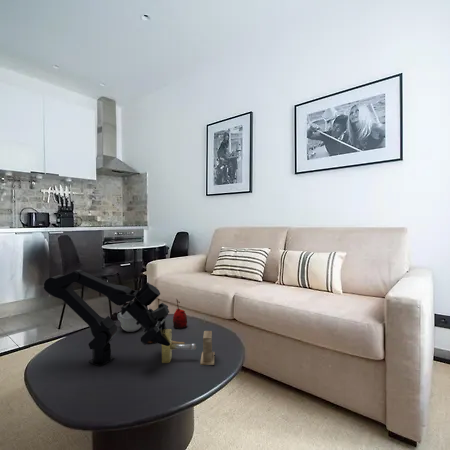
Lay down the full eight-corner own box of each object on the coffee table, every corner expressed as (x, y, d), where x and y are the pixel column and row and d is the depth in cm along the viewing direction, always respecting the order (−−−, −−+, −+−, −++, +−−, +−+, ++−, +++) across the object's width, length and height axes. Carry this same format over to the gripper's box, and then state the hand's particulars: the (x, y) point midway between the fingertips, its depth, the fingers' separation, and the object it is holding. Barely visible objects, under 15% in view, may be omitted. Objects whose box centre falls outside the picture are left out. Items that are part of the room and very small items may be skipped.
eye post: (200, 365, 100) (200, 339, 101) (201, 354, 109) (201, 329, 110) (214, 365, 101) (213, 339, 101) (214, 354, 110) (214, 329, 110)
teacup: (148, 328, 137) (148, 312, 138) (130, 335, 128) (130, 318, 128) (129, 323, 145) (129, 307, 145) (111, 329, 136) (111, 313, 136)
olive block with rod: (161, 362, 103) (161, 333, 103) (163, 357, 107) (163, 329, 107) (196, 362, 103) (195, 332, 103) (196, 357, 107) (196, 328, 107)
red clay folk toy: (190, 326, 139) (190, 296, 139) (179, 330, 134) (179, 299, 134) (180, 323, 144) (180, 294, 144) (169, 327, 139) (169, 297, 139)
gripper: (149, 305, 95) (182, 337, 96) (161, 292, 114) (188, 319, 114) (126, 328, 95) (159, 360, 95) (142, 311, 114) (169, 338, 114)
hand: (170, 342), depth 105 cm, fingers closed on olive block with rod, 4 cm apart
